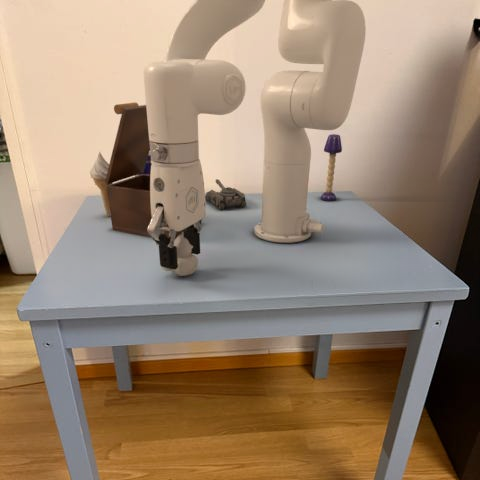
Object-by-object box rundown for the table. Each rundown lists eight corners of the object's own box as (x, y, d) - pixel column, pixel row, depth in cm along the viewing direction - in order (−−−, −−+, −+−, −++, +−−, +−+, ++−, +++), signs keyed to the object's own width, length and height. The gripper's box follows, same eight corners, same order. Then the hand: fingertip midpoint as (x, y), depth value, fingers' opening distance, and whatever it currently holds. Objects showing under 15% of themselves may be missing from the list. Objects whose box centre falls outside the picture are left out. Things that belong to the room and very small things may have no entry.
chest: (201, 224, 105) (199, 181, 100) (171, 241, 96) (168, 194, 91) (145, 214, 111) (142, 173, 106) (112, 229, 101) (106, 185, 96)
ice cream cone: (124, 214, 111) (117, 150, 104) (112, 221, 107) (102, 154, 99) (105, 212, 113) (96, 148, 105) (91, 218, 108) (81, 152, 101)
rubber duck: (202, 277, 80) (201, 234, 76) (165, 283, 78) (162, 239, 74) (193, 266, 84) (192, 224, 80) (158, 271, 82) (155, 228, 78)
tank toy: (201, 199, 123) (200, 180, 121) (233, 196, 127) (233, 177, 124) (216, 212, 114) (216, 191, 111) (250, 208, 117) (251, 187, 115)
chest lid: (163, 104, 96) (145, 92, 96) (126, 109, 86) (105, 95, 87) (143, 172, 106) (126, 161, 107) (107, 184, 96) (89, 171, 97)
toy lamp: (337, 201, 123) (345, 136, 114) (320, 201, 123) (326, 136, 115) (334, 197, 127) (341, 133, 119) (317, 197, 127) (324, 133, 119)
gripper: (163, 165, 62) (171, 283, 71) (222, 146, 76) (222, 247, 85) (119, 160, 65) (132, 274, 74) (183, 142, 78) (188, 241, 87)
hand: (180, 259), depth 79 cm, fingers open, 6 cm apart
